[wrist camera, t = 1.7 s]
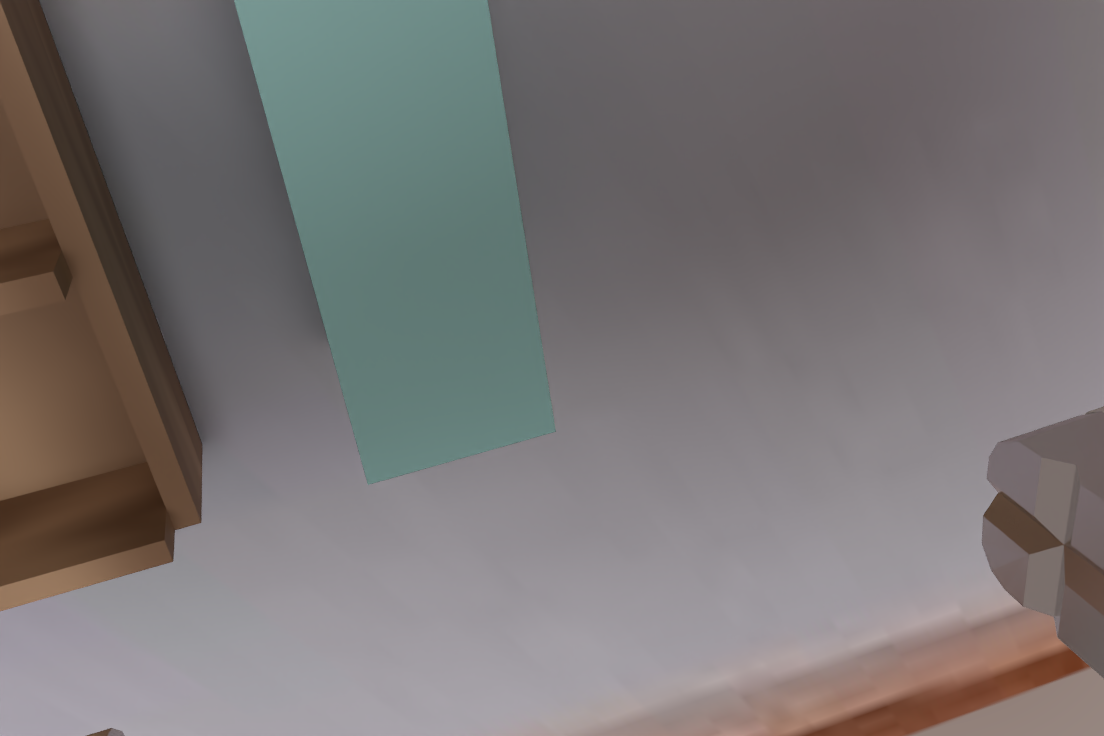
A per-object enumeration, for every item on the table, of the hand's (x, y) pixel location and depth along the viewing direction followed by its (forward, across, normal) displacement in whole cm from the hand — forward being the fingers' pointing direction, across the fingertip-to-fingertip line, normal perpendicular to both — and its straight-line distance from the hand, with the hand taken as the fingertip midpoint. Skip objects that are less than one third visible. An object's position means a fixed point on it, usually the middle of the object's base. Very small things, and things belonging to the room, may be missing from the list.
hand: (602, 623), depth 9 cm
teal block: (+18, 0, 0) cm, 18 cm away
